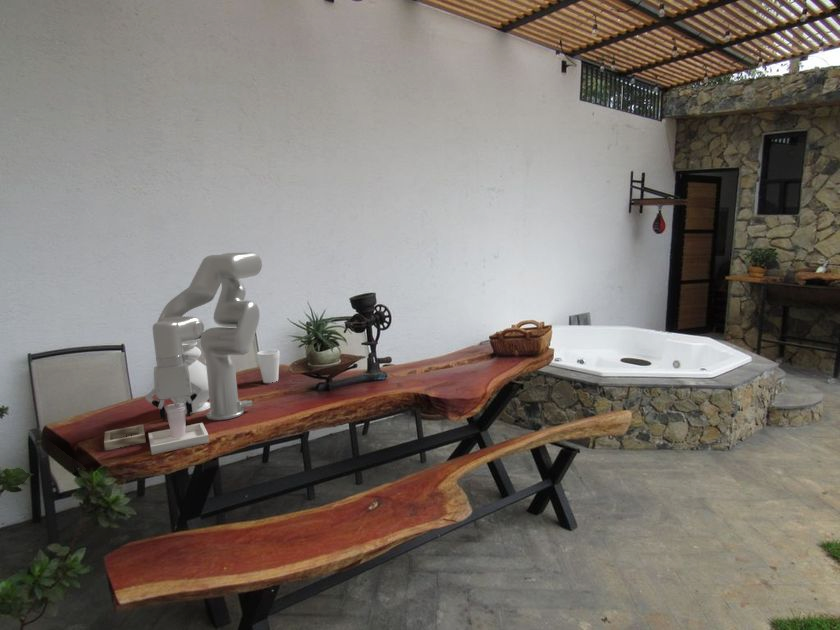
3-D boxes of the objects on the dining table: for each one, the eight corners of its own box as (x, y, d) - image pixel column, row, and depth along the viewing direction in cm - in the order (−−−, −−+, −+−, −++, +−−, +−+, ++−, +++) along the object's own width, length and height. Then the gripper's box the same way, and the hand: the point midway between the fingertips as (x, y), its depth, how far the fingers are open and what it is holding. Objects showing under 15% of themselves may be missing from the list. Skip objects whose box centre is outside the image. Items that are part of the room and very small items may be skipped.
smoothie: (193, 431, 167) (188, 389, 165) (185, 439, 161) (180, 395, 159) (172, 432, 167) (167, 390, 165) (163, 440, 161) (158, 396, 158)
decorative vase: (161, 408, 197) (153, 343, 194) (209, 397, 209) (203, 336, 205) (174, 420, 184) (166, 350, 180) (225, 408, 195) (219, 342, 191)
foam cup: (277, 376, 237) (275, 348, 235) (284, 381, 229) (282, 352, 227) (256, 380, 231) (254, 352, 229) (263, 385, 224) (261, 355, 222)
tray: (203, 429, 174) (202, 422, 173) (209, 442, 162) (208, 434, 162) (149, 440, 166) (148, 433, 165) (151, 454, 155) (150, 446, 154)
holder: (144, 431, 174) (143, 424, 173) (145, 442, 164) (144, 434, 164) (105, 439, 168) (104, 431, 168) (105, 450, 159) (104, 442, 159)
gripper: (198, 354, 168) (204, 408, 170) (137, 363, 159) (144, 419, 162) (202, 359, 161) (208, 415, 164) (138, 368, 153) (146, 427, 156)
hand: (176, 416), depth 163 cm, fingers closed on smoothie, 6 cm apart
